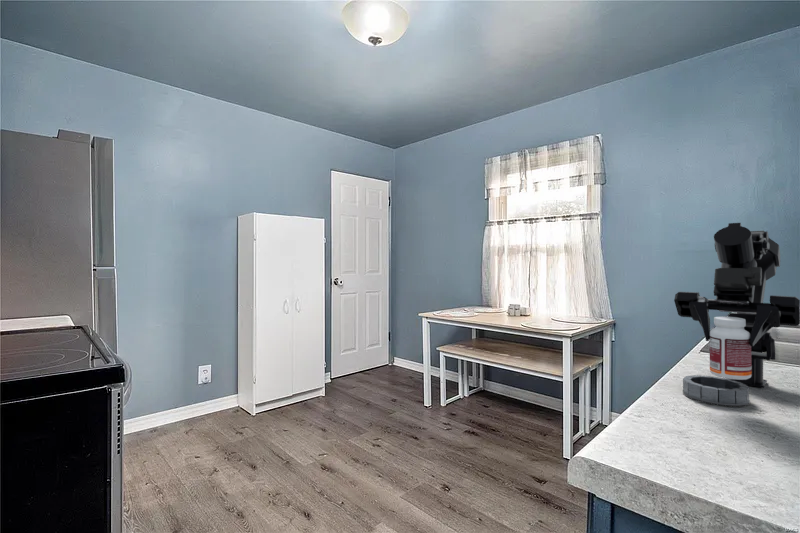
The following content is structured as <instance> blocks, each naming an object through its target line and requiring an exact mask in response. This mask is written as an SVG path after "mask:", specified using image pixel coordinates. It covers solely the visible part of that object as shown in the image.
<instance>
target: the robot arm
mask: <svg viewBox="0 0 800 533" xmlns="http://www.w3.org/2000/svg"><path fill="white" fill-rule="evenodd" d="M741 223H742V222H729V223H728V225H727V226H725V227H722V228H721V229H719V230H718V231H716V232H715V233H714V234H713V240H714V249H715V252H716V254H717V259H718V261H719V262H720V263H721V265H720V267H718V268H715V269H714V279H713V285H714V286H713V296H714V297H715V298H707V297H706V296H700V295H701V294H700V292H699V291H697V292H695V291H677V293H675V295H674V300H673V302H674V305H675V308H676V311H677V315H678V316H679V317H681V318H691V319H692V320H693V321H695V322H698V323H699V325H700V327H701V328H702V330H703V334H704V339H705V341H706V342H710V341H709V333H710V330H711V318H710V314H709V313H710V311H719V312H720V313H721V312H722V313H723V312H724V313H729V314H727V317H738V318H743V319H745V320H746V326H745V327H744V329H745V330H746V331H748V332H749V333H750V334H751V336H750V346H751V364H752V365H751V366H752V374H751V378H749V379H745V380H737V379H730V380H734V381H737V382H741V383H743V384H745V385H747V386H749V387H750V386H751V387H756V388H762V389H763V388H765V387H766V385H767V383H768V380H767V379H764V360H766V361H771V360H774V361H775V360H776V357H777V356H776V354H777V353H776V341H775V339H774V338H773V336H772V333H771V332H768V331H770V330H771V329H773V328H779V327H780V326H792V327H797V326H800V299H799V297H797V296H793V295H792V296H789V295H769V302H767V303H766V302H764V298H765V291H766V285H767V284H766V283H767V281H768V280H770V279H771V278H773V277H774V276H776V273H777V268H779V267H781V251H780V245H779V244H778V243H777V242H775V241H774V240H773V239H772V238H770V237H769V232H768V231H765V230H750V229H749V228H747V227H745V226H742V224H741ZM726 379H728V378H726Z"/></svg>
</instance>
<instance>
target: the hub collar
mask: <svg viewBox="0 0 800 533" xmlns="http://www.w3.org/2000/svg"><path fill="white" fill-rule="evenodd" d="M682 395H684V396H685V397H687V398H688V399H690V400H692V401H693V400H694V401H696V402H699V403H703V404H707V405H708V404H709V405H713V406H717V407H727V408H744V407H748V406H750V402H751V400H750V386H749V385H745V384H743V383H741V382H737V381H734V380H730V379H727V378H723V377H718V376H711V375H699V374H697V375H696V374H695V375H685V376H684V377H683V378H682Z"/></svg>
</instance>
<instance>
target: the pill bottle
mask: <svg viewBox="0 0 800 533" xmlns="http://www.w3.org/2000/svg"><path fill="white" fill-rule="evenodd" d="M713 323H714V324H713V325H715V327H713V328H710V333H709V341H708V342H709V371H710V373H711V374H712V375H714V377H719V378H725V379H727V378H728V379H737V380H745V379H749V378H751V374H752V366H751V365H752V364H751V346H750V336H751V334H750V333H749V332H748V331H746V330H745V329H744V327H745V326H746V320H745V319H743V318H738V317H728V316H714V317H713Z"/></svg>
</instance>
